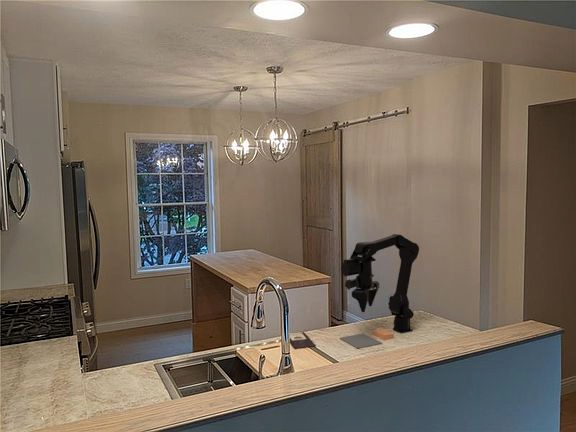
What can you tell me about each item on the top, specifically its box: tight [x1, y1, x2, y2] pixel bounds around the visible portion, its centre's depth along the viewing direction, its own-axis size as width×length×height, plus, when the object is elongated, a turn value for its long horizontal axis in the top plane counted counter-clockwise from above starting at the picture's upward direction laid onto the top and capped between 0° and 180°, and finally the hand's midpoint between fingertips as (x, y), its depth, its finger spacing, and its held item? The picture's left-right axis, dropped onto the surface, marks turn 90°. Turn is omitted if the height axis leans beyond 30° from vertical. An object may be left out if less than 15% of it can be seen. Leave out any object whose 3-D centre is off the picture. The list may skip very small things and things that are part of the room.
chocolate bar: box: [289, 331, 317, 350], centre depth 190 cm, size 9×1×18 cm
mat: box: [338, 332, 383, 350], centre depth 187 cm, size 12×14×1 cm
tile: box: [372, 327, 395, 341], centre depth 192 cm, size 5×8×2 cm, turn 25°
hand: (366, 309), depth 190 cm, fingers open, 9 cm apart
